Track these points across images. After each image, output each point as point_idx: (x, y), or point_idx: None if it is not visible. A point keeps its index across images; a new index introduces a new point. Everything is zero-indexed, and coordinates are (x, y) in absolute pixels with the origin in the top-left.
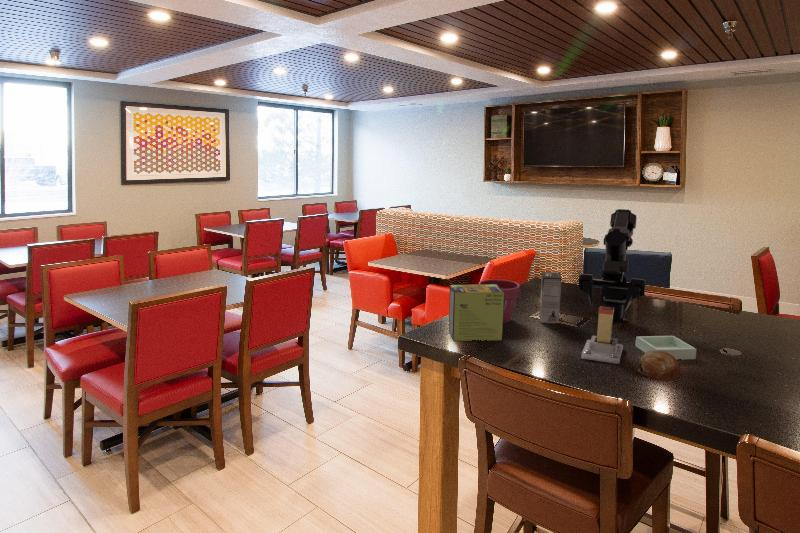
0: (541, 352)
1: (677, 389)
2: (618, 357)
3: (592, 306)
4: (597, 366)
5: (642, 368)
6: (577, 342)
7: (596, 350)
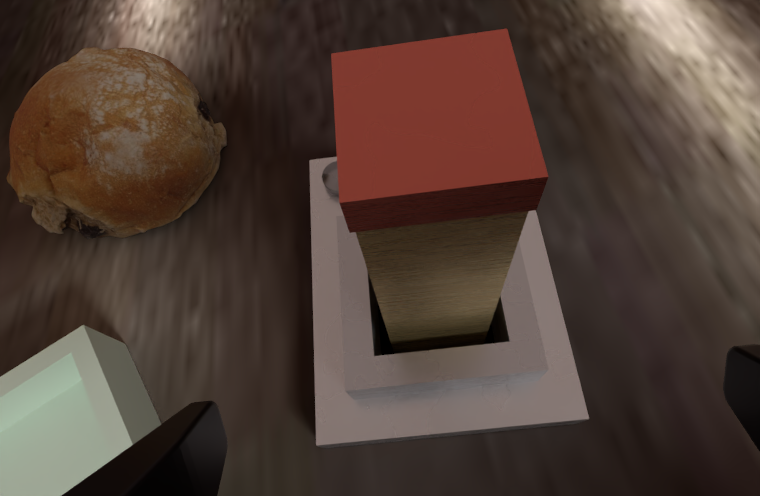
0: (737, 122)
1: None
2: (317, 178)
3: (733, 399)
4: None
5: (198, 94)
6: (659, 433)
7: None
